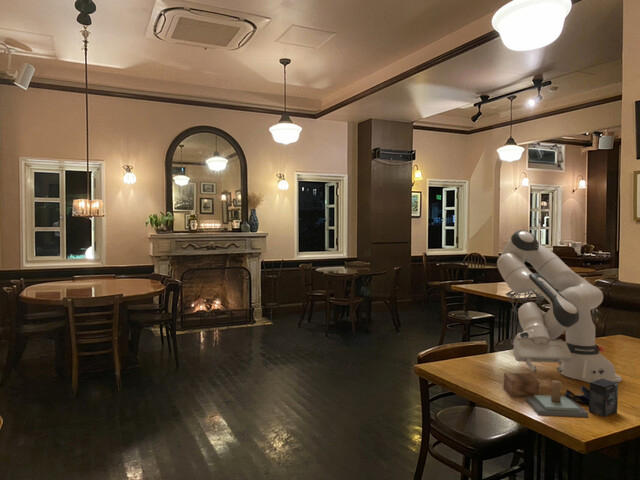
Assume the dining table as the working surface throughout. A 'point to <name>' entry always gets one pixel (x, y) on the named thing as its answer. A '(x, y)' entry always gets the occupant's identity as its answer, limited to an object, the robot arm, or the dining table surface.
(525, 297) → the geometric lantern
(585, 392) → the snack package
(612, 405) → the box
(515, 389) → the tea box
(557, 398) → the lid
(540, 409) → the gray rectangular tray
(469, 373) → the dining table surface
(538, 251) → the robot arm
